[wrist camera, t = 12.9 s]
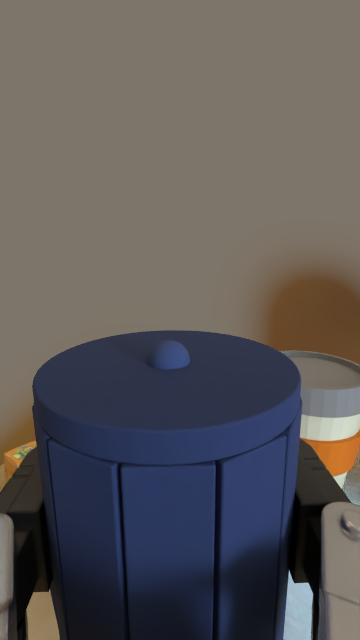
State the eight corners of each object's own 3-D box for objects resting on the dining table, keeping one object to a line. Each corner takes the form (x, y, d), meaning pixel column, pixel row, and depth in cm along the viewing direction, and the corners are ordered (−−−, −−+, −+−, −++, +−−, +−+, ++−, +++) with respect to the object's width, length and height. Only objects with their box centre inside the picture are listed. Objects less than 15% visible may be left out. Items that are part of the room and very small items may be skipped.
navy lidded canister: (319, 720, 9) (366, 353, 6) (117, 961, 6) (68, 446, 4) (149, 485, 17) (142, 292, 15) (33, 535, 14) (2, 305, 12)
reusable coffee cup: (232, 458, 44) (235, 354, 41) (312, 445, 47) (322, 346, 44) (281, 536, 32) (291, 397, 29) (384, 511, 35) (405, 383, 32)
